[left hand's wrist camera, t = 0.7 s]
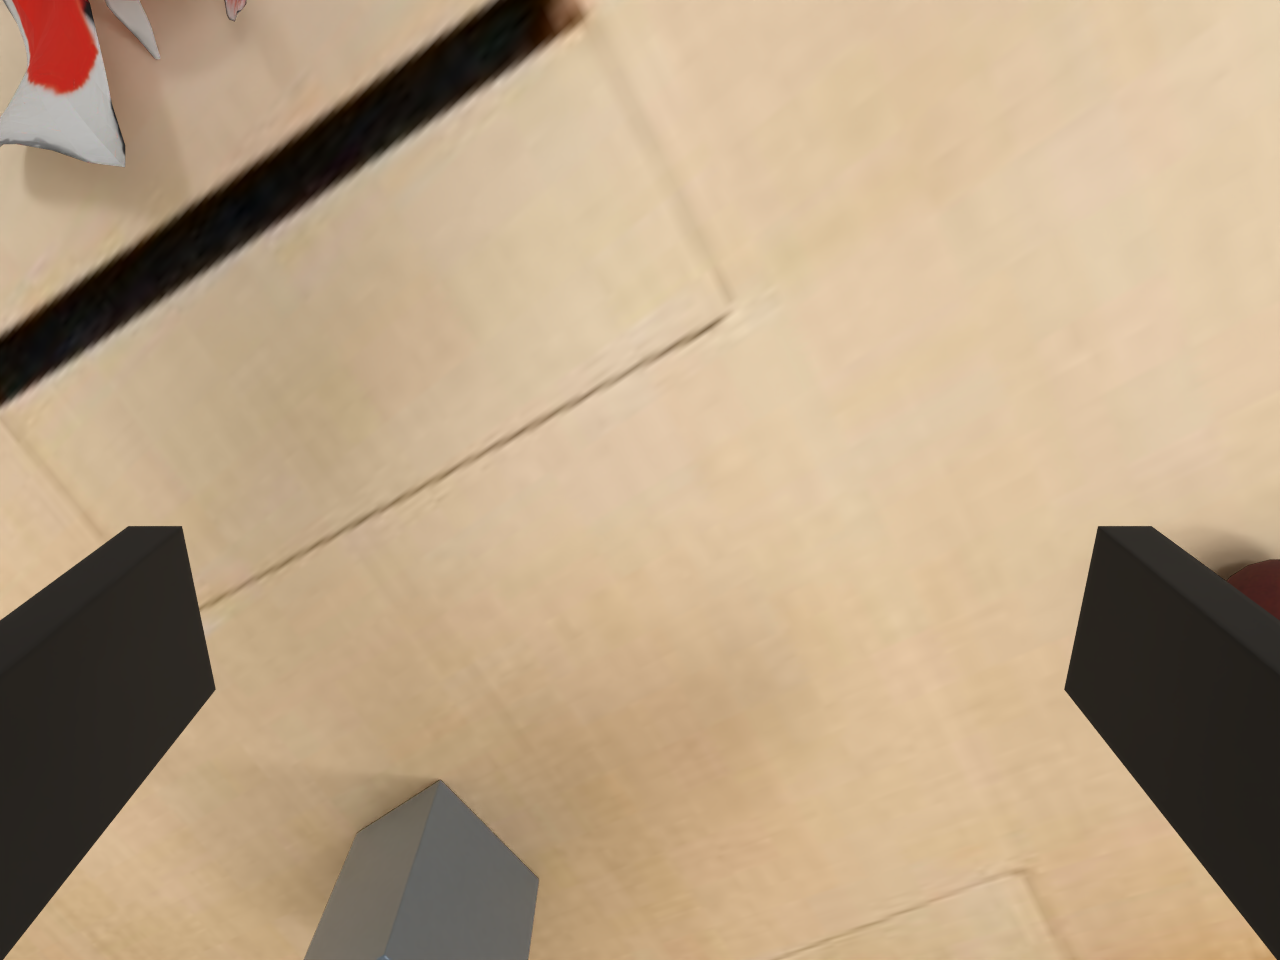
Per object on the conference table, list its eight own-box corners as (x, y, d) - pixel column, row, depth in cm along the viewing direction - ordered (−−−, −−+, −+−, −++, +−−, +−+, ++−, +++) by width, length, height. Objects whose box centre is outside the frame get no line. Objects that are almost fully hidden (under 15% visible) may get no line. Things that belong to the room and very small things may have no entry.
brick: (356, 832, 49) (277, 1018, 38) (440, 778, 48) (384, 955, 37) (456, 928, 51) (409, 1127, 41) (540, 879, 50) (513, 1071, 39)
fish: (379, 81, 31) (88, -8, 23) (155, 243, 40) (-118, 222, 31) (295, -208, 31) (-28, -406, 23) (89, 15, 39) (-204, -68, 31)
